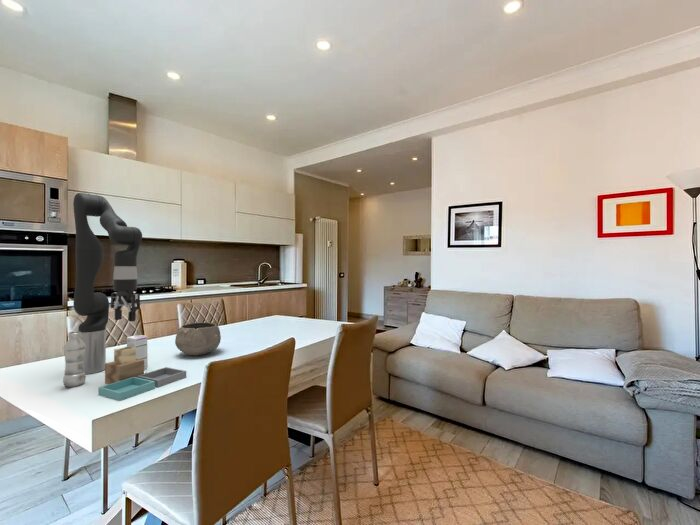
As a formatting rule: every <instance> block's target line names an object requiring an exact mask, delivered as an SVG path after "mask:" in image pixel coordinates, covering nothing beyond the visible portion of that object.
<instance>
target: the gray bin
mask: <svg viewBox="0 0 700 525" xmlns="http://www.w3.org/2000/svg"><path fill="white" fill-rule="evenodd" d="M137 378H142V379H146V380H151V381H155V388H160V387H164V386H166V385H168V384H169V385H170V384H172V383H174V382H177V381H179V380H182V379H186V378H187V370H183V369H179V368H172V367H167V366H166V367H165V366H164V367H162V368H159V369H156V370H151V371H149V372H144V374H142V375H138V376H137Z"/></svg>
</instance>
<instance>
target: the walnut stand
mask: <svg viewBox="0 0 700 525" xmlns="http://www.w3.org/2000/svg"><path fill="white" fill-rule="evenodd" d="M142 374H145V370H144V360H141V359H136V361H133V362H129V363H125V364H118V363H114V360H113V361H109V362H106V363H105V370H104V384H105V385H109V384H112V383H115V382H119V381H122V380H125V379H128V378H132V377H137V376H138V375H142Z"/></svg>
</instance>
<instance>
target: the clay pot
mask: <svg viewBox="0 0 700 525" xmlns="http://www.w3.org/2000/svg"><path fill="white" fill-rule="evenodd" d="M221 337H222V336H221V331H220V327H219V326H218V325H217V323H215V322H214V323H213V322H191V323H187V324H183V325H180V327H179V329H178V331H177V332H176V335H175V341H174V342H175V343H174V344H175V346H176V348H177V349H178V350H179V351H180V352H182V353H183V354H187V355H190V356H202V355H206V354H209V353H211V352H213V351H214V350H216V349H217V348H218V347H219V346H220V343H221V340H222V338H221Z"/></svg>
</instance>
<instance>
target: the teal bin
mask: <svg viewBox="0 0 700 525" xmlns="http://www.w3.org/2000/svg"><path fill="white" fill-rule="evenodd" d="M155 389H156V387H155V381H151V380H146V379H142V378H137V377H132V378H128V379H125V380H122V381H119V382H115V383H112V384H105V385H102V386H99V387H98V395H97V396H100V397H104V398H107V399H111V400H115V401H118V402H120V401H123V400H124V401H125V400H127V399H129V398H132V397H136V396H137V395H141V394H144V393H146V392H149V391H152V390H155Z"/></svg>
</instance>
